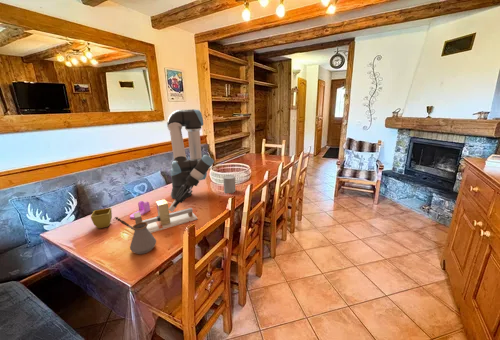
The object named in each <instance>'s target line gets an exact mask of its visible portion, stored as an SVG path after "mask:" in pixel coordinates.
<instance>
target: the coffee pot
mask: <svg viewBox="0 0 500 340" xmlns="http://www.w3.org/2000/svg"><path fill="white" fill-rule="evenodd" d="M116 220H117V222H120V223H121V224H123V225H124V226H126V227H128V228H130V229H131V230H133V231H134V233H133V236H132V239H131V243H130V244H129V245H130V246H129V250H131V252H132V253H134V254H137V255H145V254H147V253H149V252H151V251H152V250H153V249H154V247H155V246H156V244H157V239H156V238H155V236H154V235H153V233H150V231H149V230H148V229H147V225H148V224H147V223H146V222H141V223H137V224H136V223H135V224H133V226H132V225H130V224H129V223H127V222H126V221H124V220H122V219H121V218H119V217H118V216H116V217H114V218H113V222H115V221H116Z"/></svg>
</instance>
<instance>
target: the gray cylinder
mask: <svg viewBox="0 0 500 340" xmlns="http://www.w3.org/2000/svg"><path fill="white" fill-rule="evenodd" d="M222 179H223V193H224V194H227V193H231V194H235V193H236V192H237V191H236V176H235V175H231V174H230V175H224V176H223V177H222ZM235 191H236V192H235ZM234 192H235V193H234Z"/></svg>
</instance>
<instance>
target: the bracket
mask: <svg viewBox="0 0 500 340" xmlns="http://www.w3.org/2000/svg"><path fill="white" fill-rule="evenodd" d="M137 205H138V210H137V211H135V212H133V213H132V214H130V215H129V219H131V220H135V217H134V213H138V212H140V214H141V217H142V216H143V215H145V214H147V213H148V212H149V211H151V206H150V202H149V201H143V200H139V201H138V203H137Z"/></svg>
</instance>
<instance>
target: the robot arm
mask: <svg viewBox="0 0 500 340" xmlns="http://www.w3.org/2000/svg"><path fill="white" fill-rule="evenodd" d="M167 119H168V120H167V123H166V127H167V129H168V131H169V134H170V135H169V136H170V142H171V147H172V155H173V161H171V169H170V177H171V178H170V179H171V186H172V188H171V193H170V197H171V198H172V199H174V200H173V202H172V203H171V205H170V206H168V209H169V212H170V213H173V212H175V209H176V208H177V206H178V205H179V204H182V203H183V202H184V201H185V200H186V199H187V198H190V197H191V195H192V193H193V190H192V189H193V188H194V187H197V186H198V185H199V183H200V181H203V180H206V178H207V177H208V176H207V174H208V171H209V170H210V168H211V167H212V166H213V164H214V163H215V161H214V159H213V158H212V157H211V156H209V155H208V154H203V156H202V145H201V132H200V131H201V130H202V126H204V117H203V114H202V111H201V110H199V109H177V110H175V111H172V112H171V114H170V115H169V116H168V118H167ZM183 127H184V129H185V131H187V136H188V137H187V139H188V148H189V158H190V159H187V156H186V149H185V144H184V137H183V132H182V130H183Z"/></svg>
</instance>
